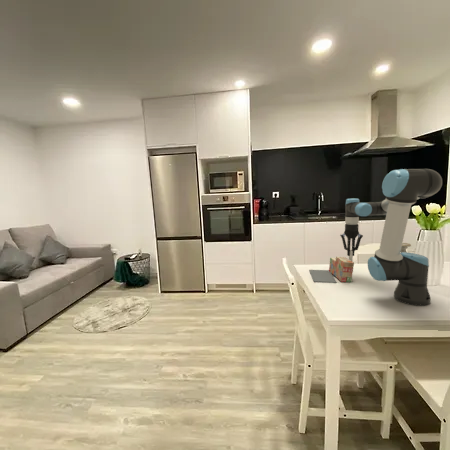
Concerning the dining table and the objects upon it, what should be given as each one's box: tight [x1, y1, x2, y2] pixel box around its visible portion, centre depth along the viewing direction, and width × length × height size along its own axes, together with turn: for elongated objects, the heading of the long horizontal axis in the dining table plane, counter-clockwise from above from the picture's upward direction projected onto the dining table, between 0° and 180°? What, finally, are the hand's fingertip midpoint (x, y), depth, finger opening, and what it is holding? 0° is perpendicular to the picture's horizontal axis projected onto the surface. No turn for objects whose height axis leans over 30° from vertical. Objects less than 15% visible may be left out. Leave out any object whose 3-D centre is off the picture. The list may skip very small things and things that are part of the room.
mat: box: [308, 269, 337, 284], centre depth 174 cm, size 24×13×1 cm, turn 169°
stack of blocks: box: [328, 256, 355, 283], centre depth 172 cm, size 21×6×12 cm, turn 178°
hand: (350, 260), depth 170 cm, fingers closed
